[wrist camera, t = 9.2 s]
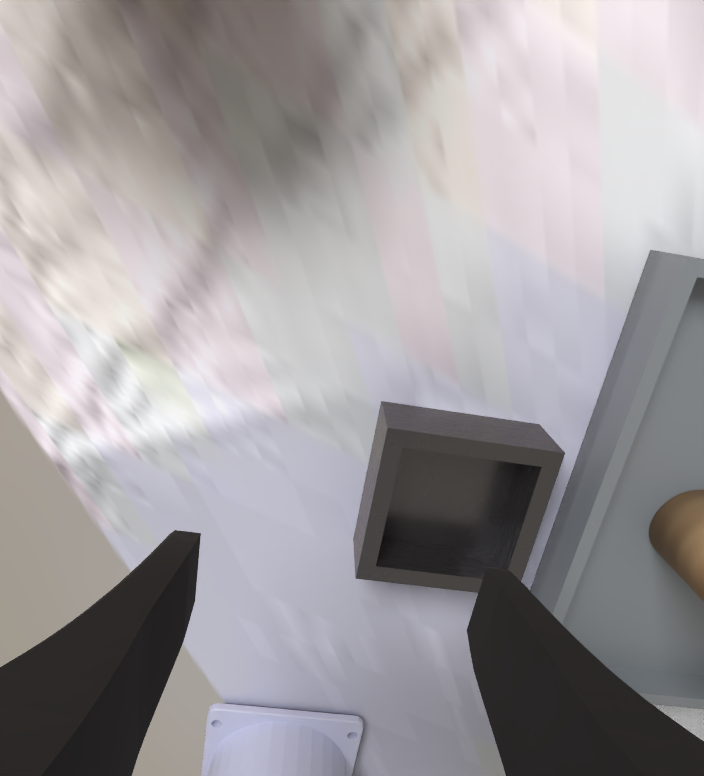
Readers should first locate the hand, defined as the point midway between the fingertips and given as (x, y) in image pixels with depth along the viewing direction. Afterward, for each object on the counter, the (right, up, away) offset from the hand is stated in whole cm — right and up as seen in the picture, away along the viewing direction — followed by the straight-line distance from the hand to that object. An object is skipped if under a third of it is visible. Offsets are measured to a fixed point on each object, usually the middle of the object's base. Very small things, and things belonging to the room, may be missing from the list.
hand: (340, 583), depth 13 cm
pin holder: (+4, +1, +10) cm, 11 cm away
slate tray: (+16, 0, +11) cm, 19 cm away
